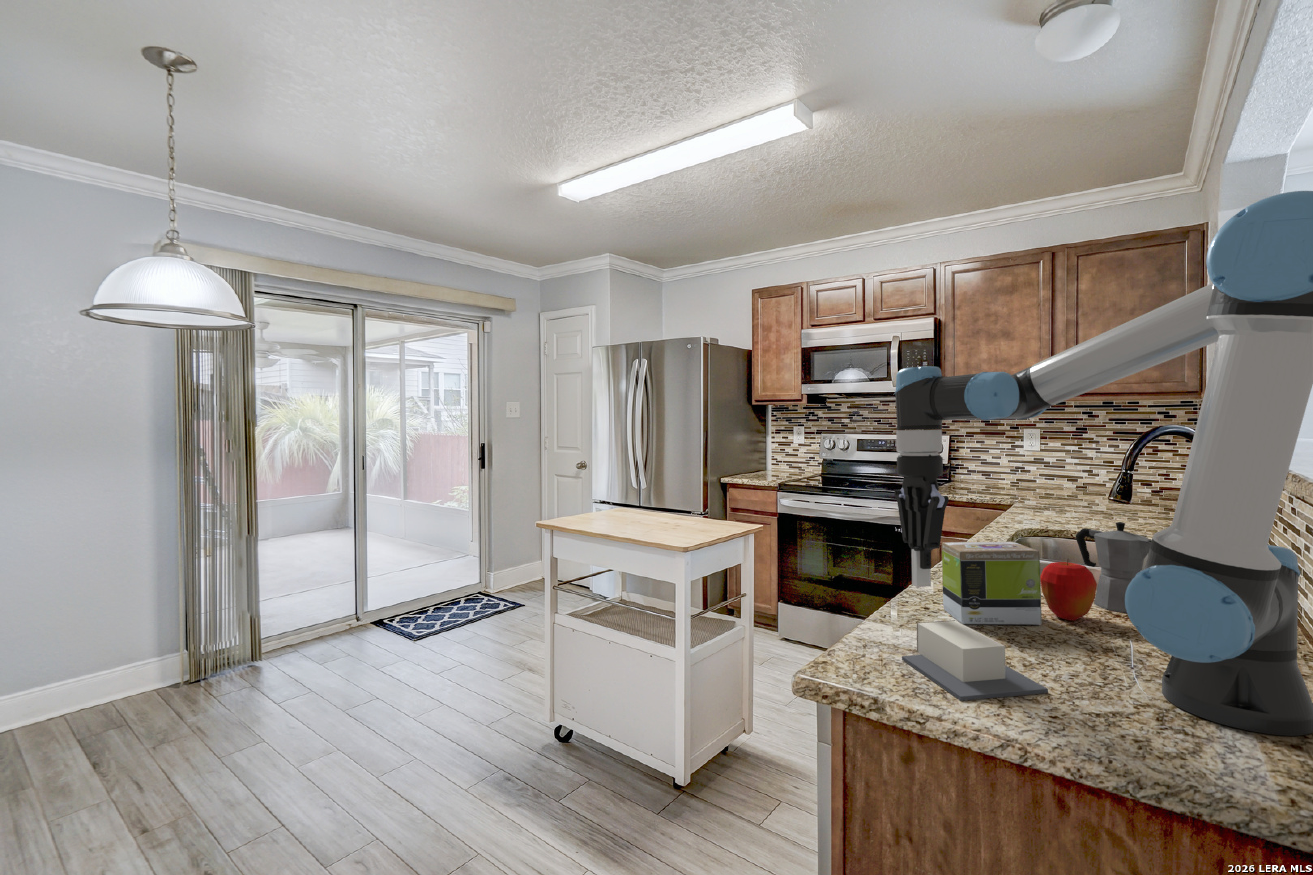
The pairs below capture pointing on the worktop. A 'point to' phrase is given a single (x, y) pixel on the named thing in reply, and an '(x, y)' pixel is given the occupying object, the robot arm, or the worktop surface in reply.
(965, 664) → the cream block
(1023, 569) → the tea box
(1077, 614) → the apple
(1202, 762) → the worktop surface
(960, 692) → the mat
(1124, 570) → the coffeepot
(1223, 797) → the worktop surface
